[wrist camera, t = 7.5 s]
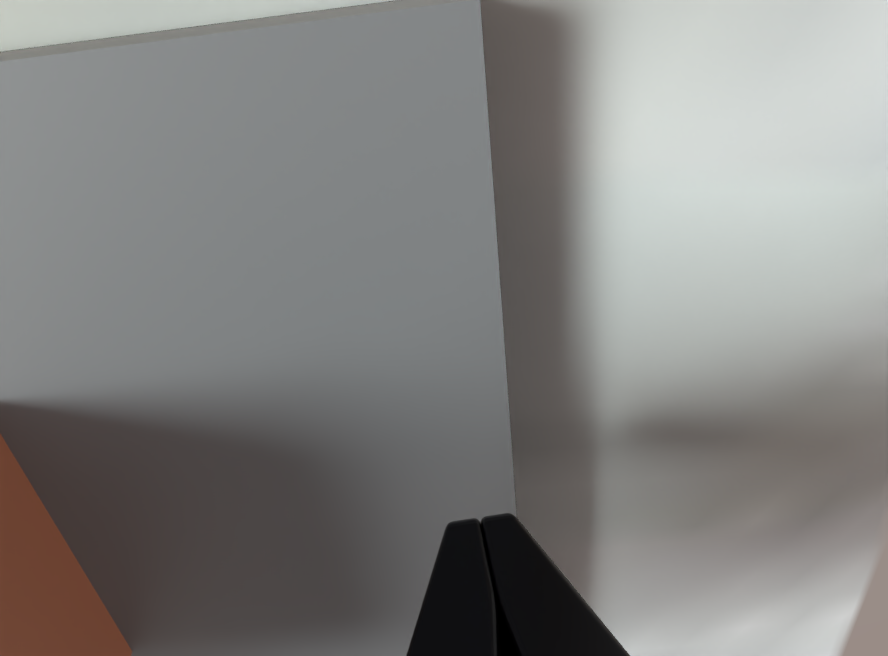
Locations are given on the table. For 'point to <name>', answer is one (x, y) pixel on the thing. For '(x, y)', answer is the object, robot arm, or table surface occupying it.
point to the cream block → (44, 581)
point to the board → (256, 319)
